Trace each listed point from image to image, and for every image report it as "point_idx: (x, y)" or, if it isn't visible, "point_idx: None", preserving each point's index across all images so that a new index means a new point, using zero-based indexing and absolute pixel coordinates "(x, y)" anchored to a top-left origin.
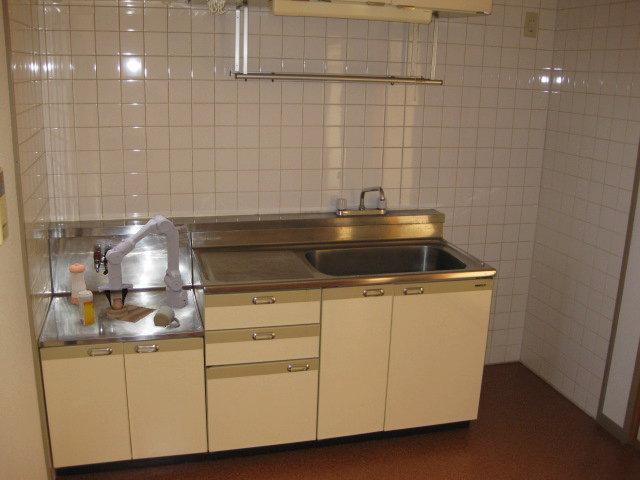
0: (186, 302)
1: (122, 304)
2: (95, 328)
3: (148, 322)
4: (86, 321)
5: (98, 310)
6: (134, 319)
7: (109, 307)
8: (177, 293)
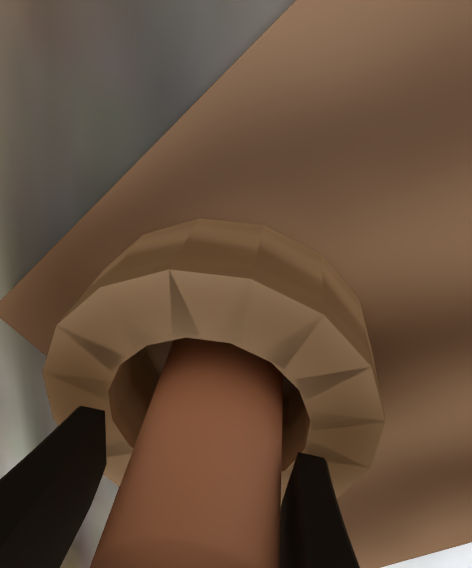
0: None
1: (280, 525)
2: (6, 463)
3: (459, 564)
4: None
5: None
6: (352, 537)
7: (90, 362)
8: None
